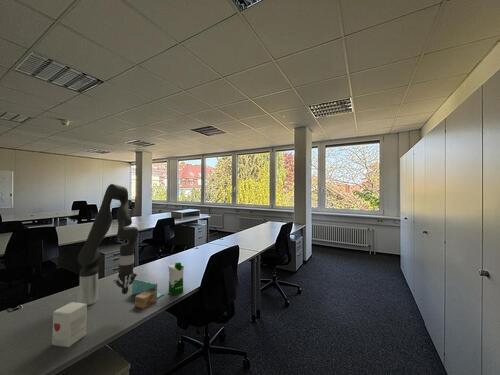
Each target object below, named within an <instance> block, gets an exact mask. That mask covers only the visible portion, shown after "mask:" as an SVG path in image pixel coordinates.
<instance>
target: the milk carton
mask: <svg viewBox="0 0 500 375" xmlns="http://www.w3.org/2000/svg"><path fill="white" fill-rule="evenodd" d="M184 269H185V265H184V264H182V263H181V262H175V263H174V264H170V265H168V273H169V274H168V293H169V294H171V295H173V296H177V295H179V294H181V293H184Z"/></svg>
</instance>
